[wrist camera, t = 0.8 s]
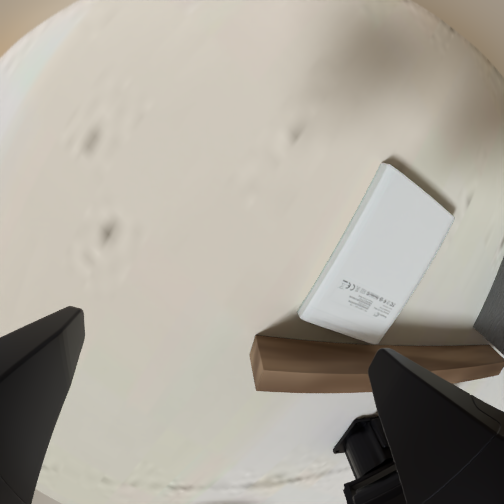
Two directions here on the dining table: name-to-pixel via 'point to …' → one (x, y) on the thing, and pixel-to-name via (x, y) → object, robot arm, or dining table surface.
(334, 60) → the dining table surface
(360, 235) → the external hard drive
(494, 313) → the bookend
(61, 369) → the robot arm
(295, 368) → the rail
